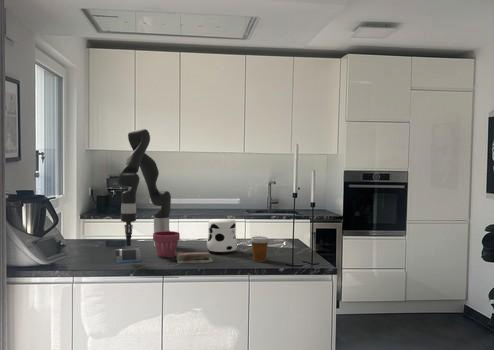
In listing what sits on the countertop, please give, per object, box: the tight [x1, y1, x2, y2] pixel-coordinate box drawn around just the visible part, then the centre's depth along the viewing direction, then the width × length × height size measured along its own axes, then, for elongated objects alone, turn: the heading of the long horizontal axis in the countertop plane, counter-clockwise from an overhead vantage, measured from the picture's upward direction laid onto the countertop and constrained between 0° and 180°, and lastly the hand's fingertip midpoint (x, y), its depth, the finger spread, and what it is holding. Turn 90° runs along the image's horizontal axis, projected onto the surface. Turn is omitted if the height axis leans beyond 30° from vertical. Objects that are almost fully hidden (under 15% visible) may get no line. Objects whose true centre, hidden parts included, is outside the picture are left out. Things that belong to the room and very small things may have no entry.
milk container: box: [206, 218, 238, 254], centre depth 268 cm, size 17×17×18 cm
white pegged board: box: [115, 247, 142, 265], centre depth 247 cm, size 12×22×4 cm, turn 17°
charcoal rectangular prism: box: [115, 248, 136, 261], centre depth 241 cm, size 10×3×5 cm, turn 106°
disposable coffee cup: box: [250, 235, 270, 263], centre depth 247 cm, size 10×10×12 cm
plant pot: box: [152, 230, 181, 259], centre depth 254 cm, size 14×14×13 cm
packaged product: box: [176, 251, 214, 265], centre depth 244 cm, size 18×5×10 cm
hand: (128, 245), depth 241 cm, fingers closed
